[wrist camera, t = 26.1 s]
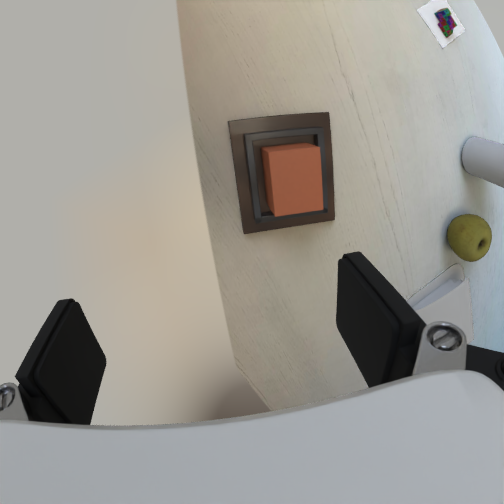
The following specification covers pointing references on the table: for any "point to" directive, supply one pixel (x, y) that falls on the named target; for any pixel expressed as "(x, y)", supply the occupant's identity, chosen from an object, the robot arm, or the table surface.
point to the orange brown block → (292, 178)
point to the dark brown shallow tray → (251, 168)
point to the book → (446, 300)
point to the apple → (469, 237)
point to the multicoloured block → (441, 21)
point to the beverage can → (484, 159)
